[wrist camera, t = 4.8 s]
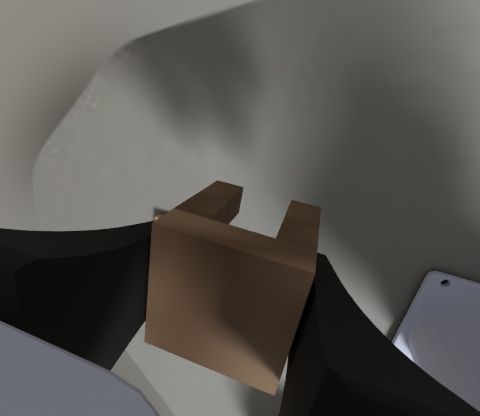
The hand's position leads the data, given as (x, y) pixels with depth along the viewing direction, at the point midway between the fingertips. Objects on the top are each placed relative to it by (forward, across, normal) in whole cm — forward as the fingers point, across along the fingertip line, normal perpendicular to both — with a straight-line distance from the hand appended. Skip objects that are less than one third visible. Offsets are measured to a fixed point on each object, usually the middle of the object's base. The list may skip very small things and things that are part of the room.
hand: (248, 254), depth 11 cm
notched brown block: (+1, 0, 0) cm, 1 cm away
